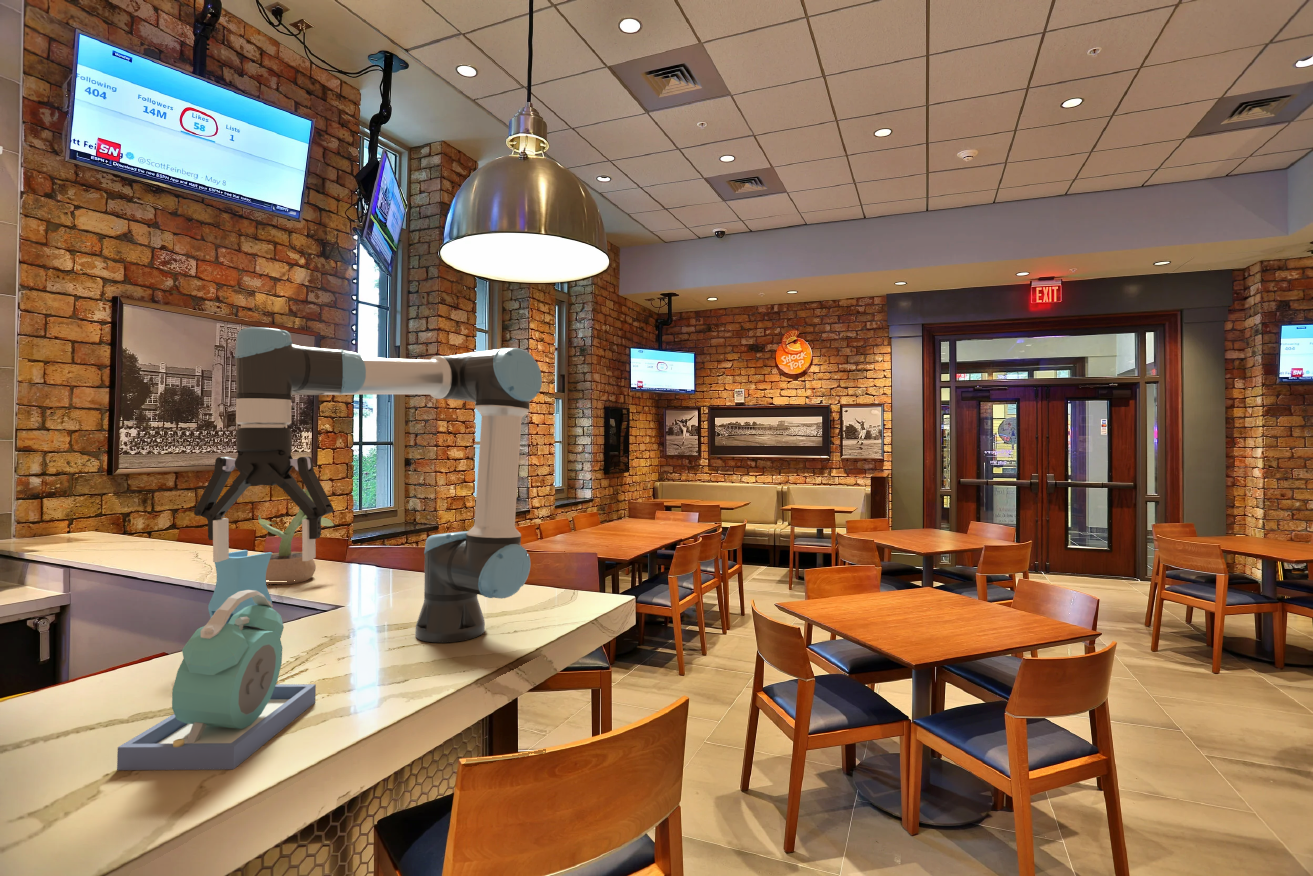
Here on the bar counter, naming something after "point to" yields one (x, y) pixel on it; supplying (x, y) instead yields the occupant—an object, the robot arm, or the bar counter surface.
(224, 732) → the shallow rectangular tray
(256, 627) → the alarm clock
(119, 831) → the bar counter surface
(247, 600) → the vase
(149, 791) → the bar counter surface
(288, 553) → the potted plant
